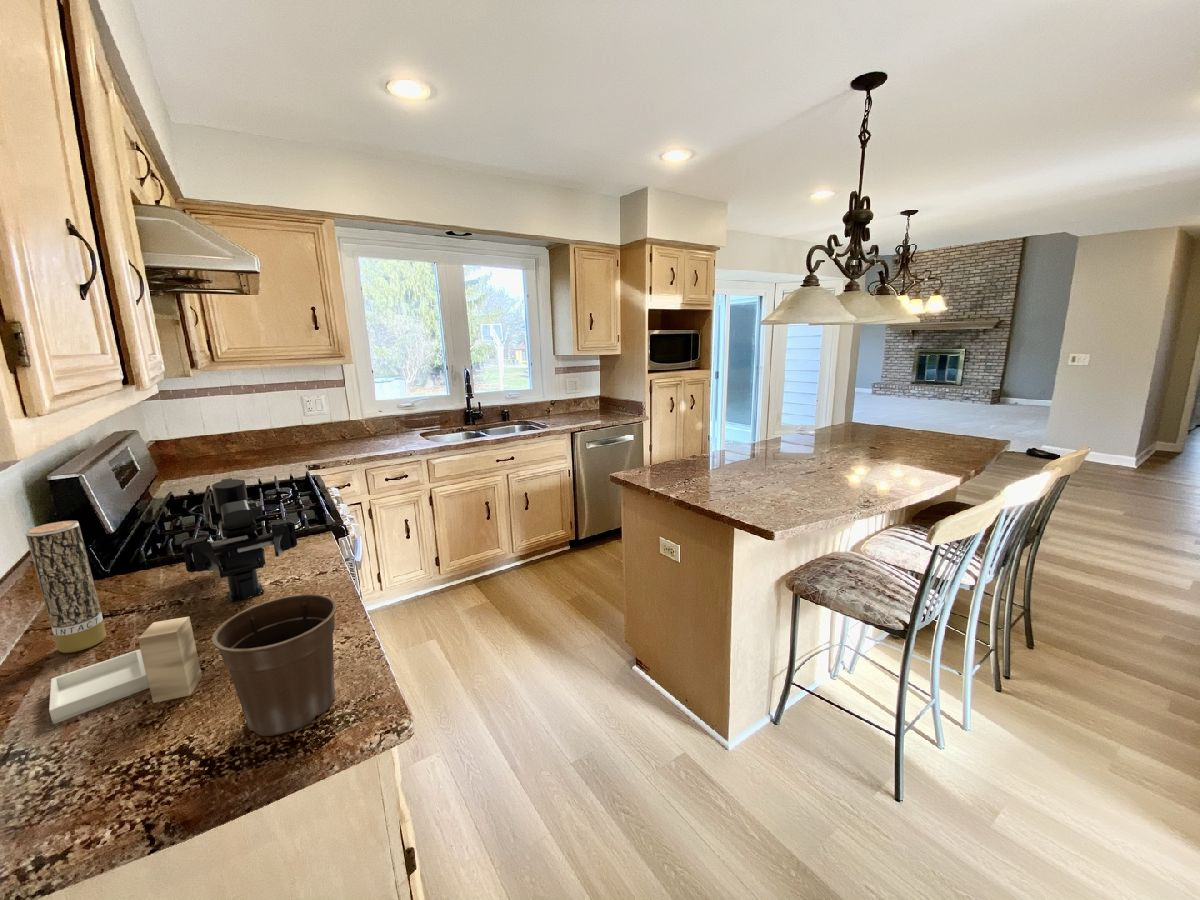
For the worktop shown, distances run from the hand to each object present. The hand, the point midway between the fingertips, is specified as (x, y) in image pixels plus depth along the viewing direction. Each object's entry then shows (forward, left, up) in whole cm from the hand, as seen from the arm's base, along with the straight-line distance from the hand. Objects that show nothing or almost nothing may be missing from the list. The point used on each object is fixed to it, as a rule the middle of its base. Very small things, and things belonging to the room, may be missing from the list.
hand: (249, 561), depth 94 cm
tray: (-3, -23, -17) cm, 29 cm away
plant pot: (+27, -2, -17) cm, 32 cm away
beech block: (+7, -14, -17) cm, 23 cm away
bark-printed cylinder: (-25, -25, -17) cm, 40 cm away
